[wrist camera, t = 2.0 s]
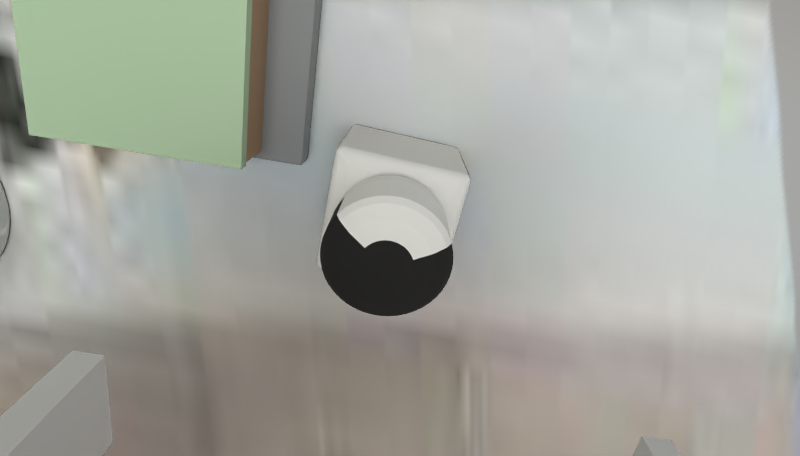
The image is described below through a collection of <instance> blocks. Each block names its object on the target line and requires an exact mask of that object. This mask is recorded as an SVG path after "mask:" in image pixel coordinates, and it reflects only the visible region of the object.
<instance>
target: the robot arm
mask: <svg viewBox="0 0 800 456" xmlns="http://www.w3.org/2000/svg"><path fill="white" fill-rule="evenodd" d="M112 442H113V435H112V424H111V414H110V403H109V393H108V382H107V371H106V361H105V355H99V354H92V353H85V352H79V351H71V352H70V353H69V354H68V355H67V356H66V357H65V358H64V359H62V360H61V361H60V362H59V363H58V364H57V365H56V366H55V367H54V368H53V369H52V370H50V371H49V372H48V373H47V374H46V375H45V376H44V377H43V378H42V379H41V380H39V381H38V382H37V383H36V384H35V385H34V386H33V387H32V388H31V389H30V390H29V391H27V392H26V393H25V394H24V395H23V396H22V397H21V398H20V399H19V400H18V401H16V402H15V403H14V404H13V405H12V406H11V407H10V408H9V409H8V410H7V411H6V412H4V413H3V414H2V415H1V416H0V456H103V454H104V453H105V452H106V450H107V449H108V448H109V446H110V445H111V444H112ZM633 456H682V455H681V454H680V452H679V451H678V449H677V447H676V446H675V444H674V443H673V441H672V440H666V439H660V438H653V437H646V436H642V437H641V439H640V441H639V443H638V445H637V447H636V449H635V451H634V453H633Z"/></svg>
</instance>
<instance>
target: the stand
mask: <svg viewBox="0 0 800 456" xmlns="http://www.w3.org/2000/svg"><path fill="white" fill-rule="evenodd" d="M11 6H12V14H13V21H14V28H15V36H16V43H17V50H18V57H19V65H20V72H21V79H22V87H23V94H24V101H25V108H26V116H27V123H28V130H29V135H34V136H40V137H46V138H52V139H58V140H64V141H70V142H77V143H83V144H89V145H95V146H101V147H107V148H113V149H119V150H126V151H132V152H138V153H144V154H150V155H156V156H162V157H168V158H175V159H181V160H187V161H193V162H199V163H205V164H211V165H217V166H224V167H230V168H236V169H242V168H243V167H245V166H246V162H247V161H248V160H250V159H251V158H252V157H254V158H260V159H266V160H272V161H278V162H284V163H291V164H297V165H302V164H303V163H304V161H305V160H306V159H307V158H308V150H309V139H310V128H311V117H312V106H313V95H314V83H315V72H316V61H317V50H318V39H319V28H320V17H321V6H322V0H11Z"/></svg>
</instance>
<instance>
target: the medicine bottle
mask: <svg viewBox="0 0 800 456" xmlns="http://www.w3.org/2000/svg"><path fill="white" fill-rule="evenodd" d="M470 179H471V178H470V176H469V173H468V171H467V169H466V166H465V164H464V162H463V159H462V157H461V155H460V152H459V150H458V148H456V147H452V146H448V145H444V144H439V143H435V142H430V141H426V140H422V139H417V138H413V137H409V136H404V135H400V134H396V133H391V132H387V131H382V130H378V129H374V128H369V127H365V126H361V125H354V126H352V127H351V129H350V130H349V132H348V133H347V135H346V136H345V138H344V139H343V141H342V142H341V143H340V145H339V146H338V148H337V150H336V152H335V158H334V164H333V170H332V175H331V181H330V187H329V193H328V198H327V204H326V210H325V216H324V221H323V227H322V233H321V239H320V244H319V250H318V256H317V266H318V267H319V268H321V269H322V271H323V273H324V276H325V278H326V280H327V282H328V284H329V286H330V287H331V288H332V290H333V291H334V292H335V293H336V294H337V295H338V296H339V297H340V298H341V299H342V300H343V301H345V302H346V303H347V304H349V305H350V306H352V307H354V308H356V309H358V310H360V311H363V312H366V313H369V314H374V315H379V316H397V315H402V314H407V313H410V312H413V311H416V310H418V309H420V308H422V307H424V306H425V305H427V304H428V303H430V302H431V301H432V300H433V299H435V298H436V297H437V296H438V294H439V293H440V292H441V291H442V290H443V288H444V287H445V285H446V283H447V281H448V279H449V277H450V274H451V270H452V265H453V249H452V243H453V240H454V236H455V233H456V230H457V226H458V223H459V219H460V216H461V212H462V209H463V206H464V202H465V199H466V195H467V192H468V188H469V185H470Z"/></svg>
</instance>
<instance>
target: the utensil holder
mask: <svg viewBox="0 0 800 456" xmlns="http://www.w3.org/2000/svg"><path fill="white" fill-rule="evenodd" d="M9 225H10V216H9V208H8V203H7V200H6V196H5V193H4V190H3V187H2V185H1V182H0V255H1V254H2V252H3V250H4V248H5V245H6V242H7V239H8V234H9Z"/></svg>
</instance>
